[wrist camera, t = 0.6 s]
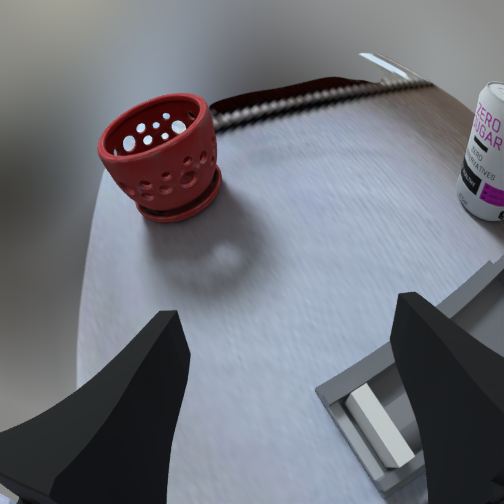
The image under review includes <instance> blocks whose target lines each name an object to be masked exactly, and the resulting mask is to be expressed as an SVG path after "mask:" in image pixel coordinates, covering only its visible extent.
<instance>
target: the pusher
mask: <svg viewBox="0 0 504 504" xmlns="http://www.w3.org/2000/svg"><path fill="white" fill-rule="evenodd" d="M345 406H346V407H347V409H348V410H349V412H350V413H351V415H352V417H353V418H354V420H355V421H356V423H357V424H358V426H359V427H360V429H361V431H362V432H363V434H364V435H365V437H366V438H367V440H368V441H369V443H370V444H371V446H372V448H373V449H374V451H375V452H376V454H377V455H378V457H379V458H380V460H381V461H382V463H383V465H384V466H385V467H397V468H400V467H401V466H403V465H404V464H405V463H407V462H408V461H410V460H411V459H412V458H414V457H415V455H414V454H413V452H412V451H411V449H410V448H409V446H408V444H407V443H406V441H405V440H404V438H403V437H402V435H401V434H400V432H399V431H400V430H402V429H403V428H404V427H406V426H407V425H408V424H410V423H411V422H412V421H414V420H415V419H416V418H415V415H414V412H413V410H412V407H411V404H410V401H409V399H408V396H407V393H406V392H405V393H404V394H403V395H401V396H400V397H399V398H397V399H396V400H394V401H393V402H392V403H390V404H389V405H387V406H386V407H384V408H383V407H382V405H381V404H380V402H379V401H378V399H377V398H376V396H375V395H374V394H373V392H372V391H371V389H370V388H369V386H368V385H367V383H365V384H364V385H362V386H361V387H359V388H358V389H356V390H355V391H353V392H351V394H350V395H349V397H348V399H347V401H346V402H345Z"/></svg>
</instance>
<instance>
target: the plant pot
mask: <svg viewBox="0 0 504 504" xmlns="http://www.w3.org/2000/svg"><path fill="white" fill-rule="evenodd" d="M189 111H191V112H192V113H193V114H194V116H195V119H194V118H192V117H191V116H190V115H189ZM164 113H168V114H169V115H170V118H169V119H165V118H163V114H164ZM177 120H179V121H182V122H183V123H184V124H185V126H186V130H185V131H184V132H183V133H181V134H178V133H176V132H174V131H173V130H172V123H173V122H174V121H177ZM155 122H158V123H159V124H160V125H159V127H158V128H153V123H155ZM141 123H143V124H145V130H144V131H143V132H141V133H139V132H137V130H136V128H137V126H138V125H139V124H141ZM163 133H167V134H168V135H169V137H168V138H167V139H163V138H162V137H161V135H162V134H163ZM147 135H150V136H151V137H152V142H151V143H150V144H148V145H146V144H144V142H143V139H144V137H146V136H147ZM127 136H133V137H134V139H135V146H134V148H133V149H132V150H131V151H126V150H125V149H124V147H123V140H124V138H125V137H127ZM97 149H98V155H99V157H100V159H101V161H102V162H103V164H104V166H105V167H106V169H107V171H108V172H109V173H110V175H111V176H112V178H113V179H114V181H115V182H116V184H117V185H118V186H119V187H120V188H121V189H122V190H123V192H124V193H125V194H127V195H128V196H129V197H130V198H131V199H133V200H134V201H135V203H136V207H137V209H138V210H139V212H140V213H141V214H142V215H143V216H144V217H146V218H148V219H150V220H153V221H156V222H163V223H169V222H177V221H181V220H184V219H187V218H190V217H192V216H194V215H196V214H198V213H199V212H201V211H202V210H203V209H205V208H206V207H207V206H208V205H209V204H210V203H211V202H212V201H213V200H214V198H215V197H216V196H217V194H218V192H219V190H220V187H221V183H222V175H221V171H220V169H219V167H218V166H217V164H216V161H217V142H216V136H215V131H214V127H213V122H212V118H211V114H210V111H209V108H208V105H207V103H206V102H205V100H204V99H202V98H201V97H199V96H197V95H193V94H187V93H174V94H167V95H163V96H160V97H156V98H153V99H150V100H148V101H145V102H143V103H141V104H139V105H136V106H135V107H133V108H131V109H130V110H128V111H126V112H125V113H123V114H122V115H120V116H119V117H118V118H117V119H115V120H114V121H113V122H112V123H111V124H110V125H109V126H108V127H107V128H106V130H105V131H104V132H103V134H102V136H101V137H100V140H99V143H98V148H97ZM114 149H116V151H117V156H114Z"/></svg>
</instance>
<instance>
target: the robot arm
mask: <svg viewBox="0 0 504 504" xmlns="http://www.w3.org/2000/svg"><path fill="white" fill-rule="evenodd" d="M390 343H391V347H392V352H393V356H394V359H395V363H396V367H397V369H398V372H399V375H400V377H401V380H402V383H403V385H404V388H405V391H406V393H407V396H408V399H409V401H410V404H411V407H412V410H413V412H414V415H415V418H416V422H417V425H418V429H419V434H420V438H421V444H422V449H423V455H424V461H425V468H426V477H427V488H428V504H504V357H503V356H501V355H499V354H498V353H496V352H494V351H493V350H491V349H490V348H488V347H487V346H485V345H484V344H482V343H481V342H480V341H478V340H477V339H476V338H474V337H473V336H471V335H470V334H469V333H467V332H466V331H465V330H463V329H462V328H461V327H459V326H458V325H457V324H456V323H454V322H453V321H452V320H451V319H449V318H448V317H447V316H446V315H444V314H443V313H442V312H441V311H439V310H438V309H437V308H436V307H435V306H433V305H432V304H431V303H430V302H428V301H427V300H426V299H424V298H423V297H422V296H421V295H419V294H418V293H416V292H408V293H399V294H398V300H397V305H396V311H395V316H394V321H393V326H392V331H391V336H390ZM190 356H191V354H190V350H189V347H188V344H187V341H186V338H185V335H184V332H183V328H182V325H181V322H180V319H179V315H178V312H177V310H171V311H159V312H158V313H157V314H156V315H155V316H154V317H153V318H152V319H151V320H150V321H149V322H148V323H147V325H146V326H145V327H144V328H143V329H142V330H141V331H140V332H139V333H138V334H137V335H136V336H135V337H134V338H133V339H132V340H131V342H130V343H129V344H128V345H127V346H126V347H125V348H124V349H123V350H122V351H121V352H120V353H119V354H118V355H117V356H116V357H115V358H114V359H113V360H111V361H110V362H109V363H108V364H107V365H106V366H105V367H104V368H103V369H102V370H101V371H100V372H99V373H98V374H97V375H95V376H94V377H93V378H92V379H91V380H89V381H88V382H87V383H86V384H84V385H83V386H82V387H81V388H79V389H78V390H77V391H75V392H74V393H73V394H71V395H70V396H68V397H67V398H65V399H64V400H62V401H61V402H59V403H58V404H56V405H55V406H53V407H52V408H50V409H48V410H47V411H45V412H43V413H41V414H40V415H38V416H36V417H34V418H32V419H30V420H28V421H26V422H24V423H22V424H20V425H17V426H15V427H13V428H10V429H8V430H6V431H3V432H0V483H1V484H2V485H3V486H5V487H6V488H7V489H9V490H10V491H11V492H13V493H14V494H16V495H17V496H19V500H18V502H17V503H16V502H14V501H13V500H11V499H9V498H8V497H6V496H4V495H2V494H1V493H0V504H166V503H167V484H168V472H169V463H170V454H171V446H172V441H173V436H174V432H175V428H176V424H177V420H178V416H179V412H180V408H181V404H182V401H183V397H184V393H185V389H186V385H187V381H188V373H189V365H190Z"/></svg>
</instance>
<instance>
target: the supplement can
mask: <svg viewBox="0 0 504 504" xmlns="http://www.w3.org/2000/svg"><path fill="white" fill-rule="evenodd" d="M456 191H457V195H458V197H459V198H460V200H461V202H462V203H463V205H464V207H465V208H466V209H467V210H468V211H470V212H471V213H472V214H473V215H475V216H477V217H478V218H480V219H483V220H486V221H501V220H503V219H504V83H502V82H498V81H490V82H489V83H487V86H486V87H485V88H484V89H483V90H482V91H481V92H480V95H479V100H478V105H477V109H476V114H475V118H474V123H473V127H472V131H471V135H470V139H469V143H468V147H467V150H466V154H465V157H464V161H463V164H462V168H461V171H460V174H459V178H458V181H457V185H456Z"/></svg>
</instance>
